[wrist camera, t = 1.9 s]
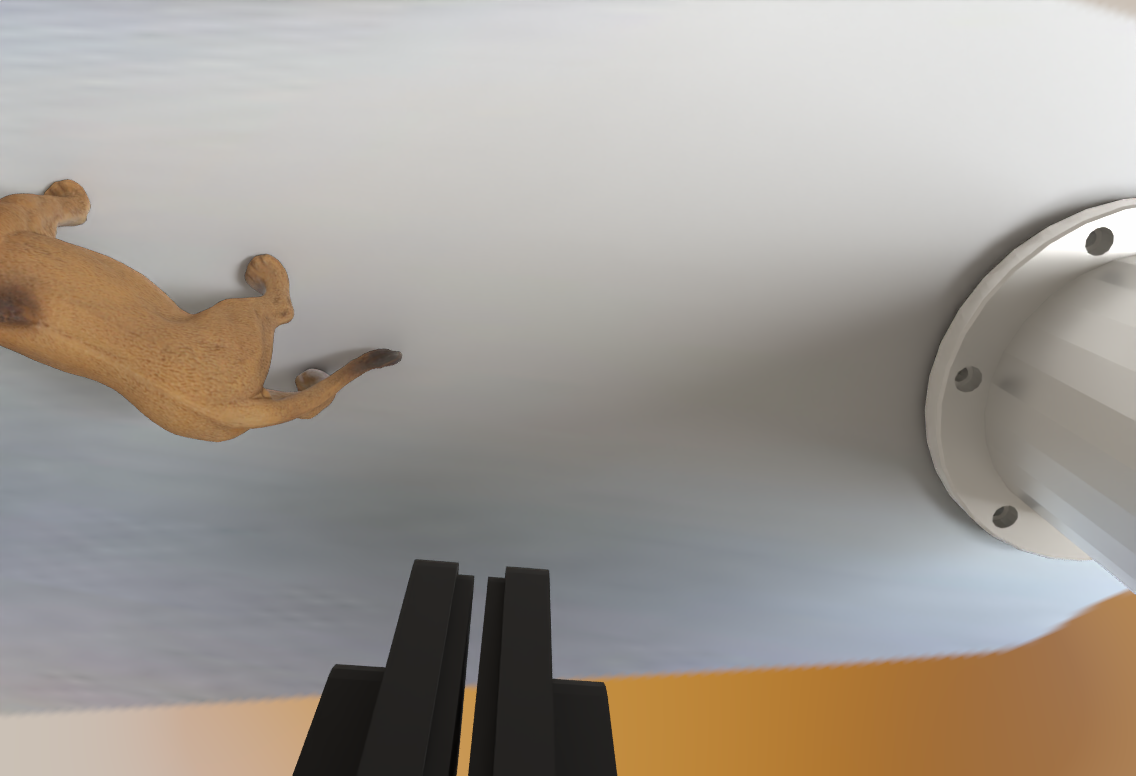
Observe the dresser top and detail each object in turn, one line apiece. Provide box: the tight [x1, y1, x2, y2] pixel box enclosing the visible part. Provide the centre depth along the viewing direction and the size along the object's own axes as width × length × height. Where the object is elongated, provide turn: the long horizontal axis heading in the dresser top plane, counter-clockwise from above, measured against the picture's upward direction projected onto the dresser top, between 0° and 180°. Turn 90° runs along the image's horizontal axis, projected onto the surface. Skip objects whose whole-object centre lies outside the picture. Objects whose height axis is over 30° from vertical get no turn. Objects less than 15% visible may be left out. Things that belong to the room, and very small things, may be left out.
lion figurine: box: [0, 179, 402, 442], centre depth 20 cm, size 15×5×9 cm, turn 74°
